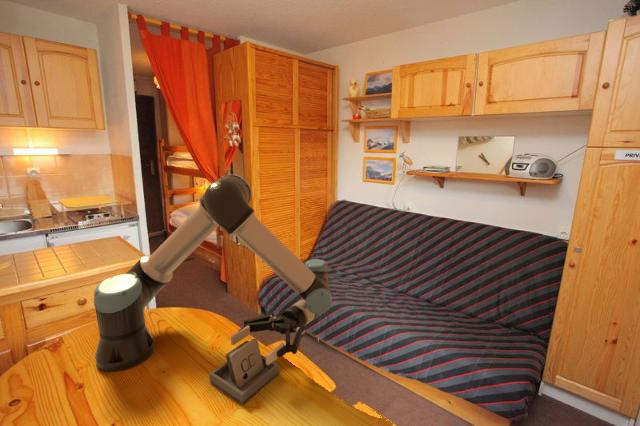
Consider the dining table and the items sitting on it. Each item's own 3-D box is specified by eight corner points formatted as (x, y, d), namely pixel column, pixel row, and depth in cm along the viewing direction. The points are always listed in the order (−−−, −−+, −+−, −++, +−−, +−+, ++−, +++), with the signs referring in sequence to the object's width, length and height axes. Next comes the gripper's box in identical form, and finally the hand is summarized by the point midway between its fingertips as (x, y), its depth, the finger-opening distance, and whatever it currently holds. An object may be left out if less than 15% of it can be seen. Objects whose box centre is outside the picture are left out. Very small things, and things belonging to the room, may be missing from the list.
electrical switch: (239, 390, 85) (235, 357, 83) (225, 383, 88) (222, 351, 86) (264, 369, 92) (261, 339, 91) (251, 364, 95) (248, 334, 94)
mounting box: (210, 383, 88) (209, 373, 87) (247, 356, 99) (247, 347, 98) (242, 405, 81) (242, 395, 80) (279, 373, 92) (279, 364, 91)
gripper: (329, 340, 100) (283, 382, 83) (269, 314, 113) (219, 344, 96) (330, 318, 98) (283, 356, 81) (269, 294, 112) (218, 322, 95)
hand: (248, 350), depth 89 cm, fingers open, 13 cm apart
